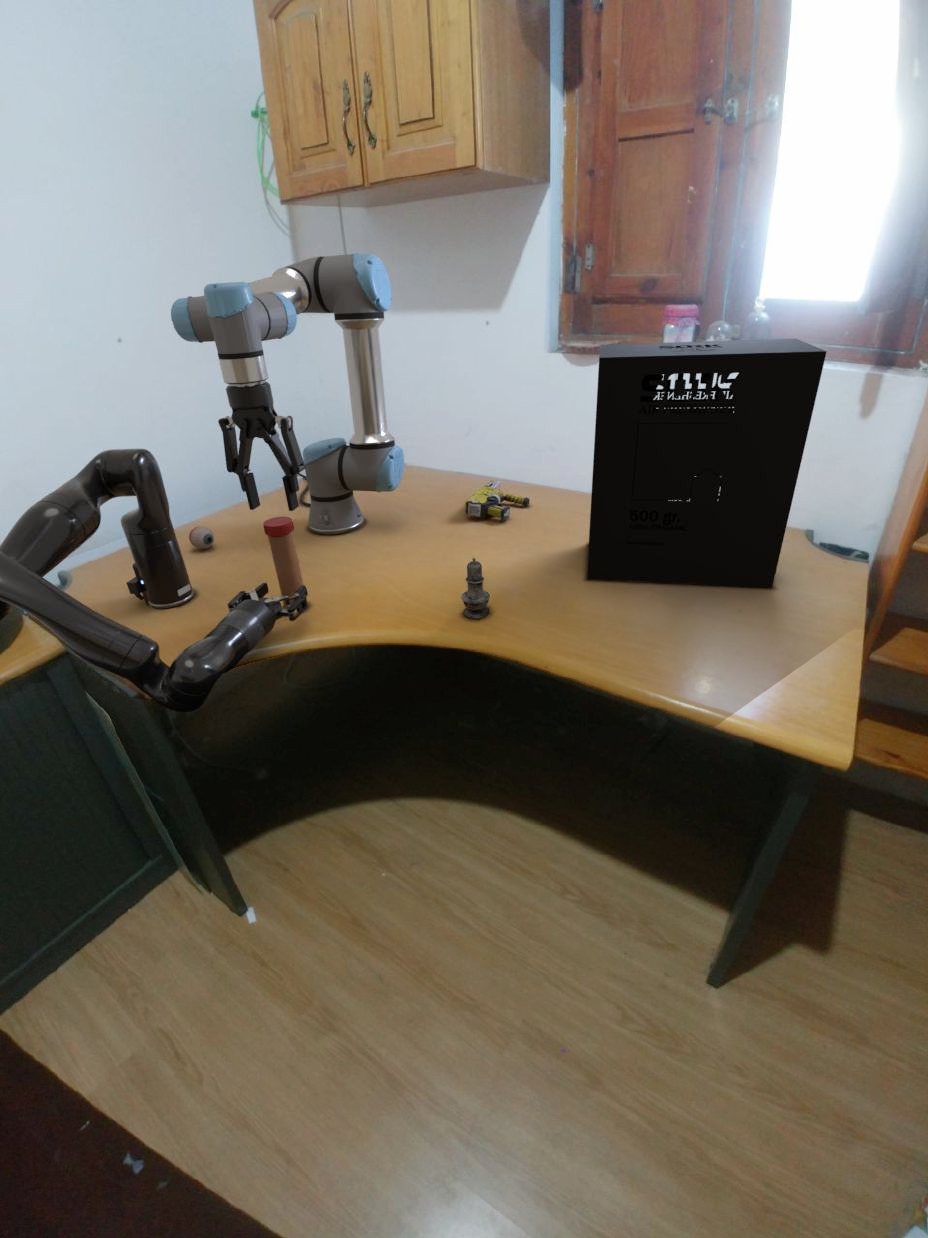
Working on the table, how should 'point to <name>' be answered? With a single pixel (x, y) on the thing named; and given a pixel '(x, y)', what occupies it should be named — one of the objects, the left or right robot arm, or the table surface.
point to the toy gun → (492, 502)
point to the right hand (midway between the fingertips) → (274, 507)
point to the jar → (286, 563)
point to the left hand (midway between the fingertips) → (285, 588)
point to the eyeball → (201, 537)
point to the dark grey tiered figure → (475, 592)
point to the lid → (278, 526)
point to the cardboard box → (698, 459)
